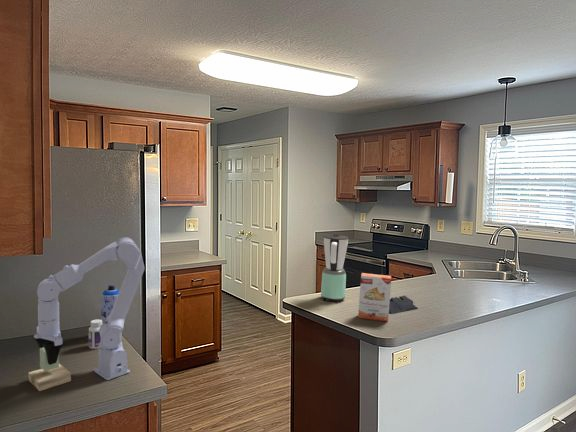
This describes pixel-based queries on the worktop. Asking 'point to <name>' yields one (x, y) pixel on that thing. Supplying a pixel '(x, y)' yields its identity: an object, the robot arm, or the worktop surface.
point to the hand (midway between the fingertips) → (49, 361)
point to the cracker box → (374, 297)
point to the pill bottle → (94, 334)
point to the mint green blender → (334, 268)
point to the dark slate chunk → (401, 305)
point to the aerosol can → (108, 301)
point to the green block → (46, 361)
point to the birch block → (49, 377)
